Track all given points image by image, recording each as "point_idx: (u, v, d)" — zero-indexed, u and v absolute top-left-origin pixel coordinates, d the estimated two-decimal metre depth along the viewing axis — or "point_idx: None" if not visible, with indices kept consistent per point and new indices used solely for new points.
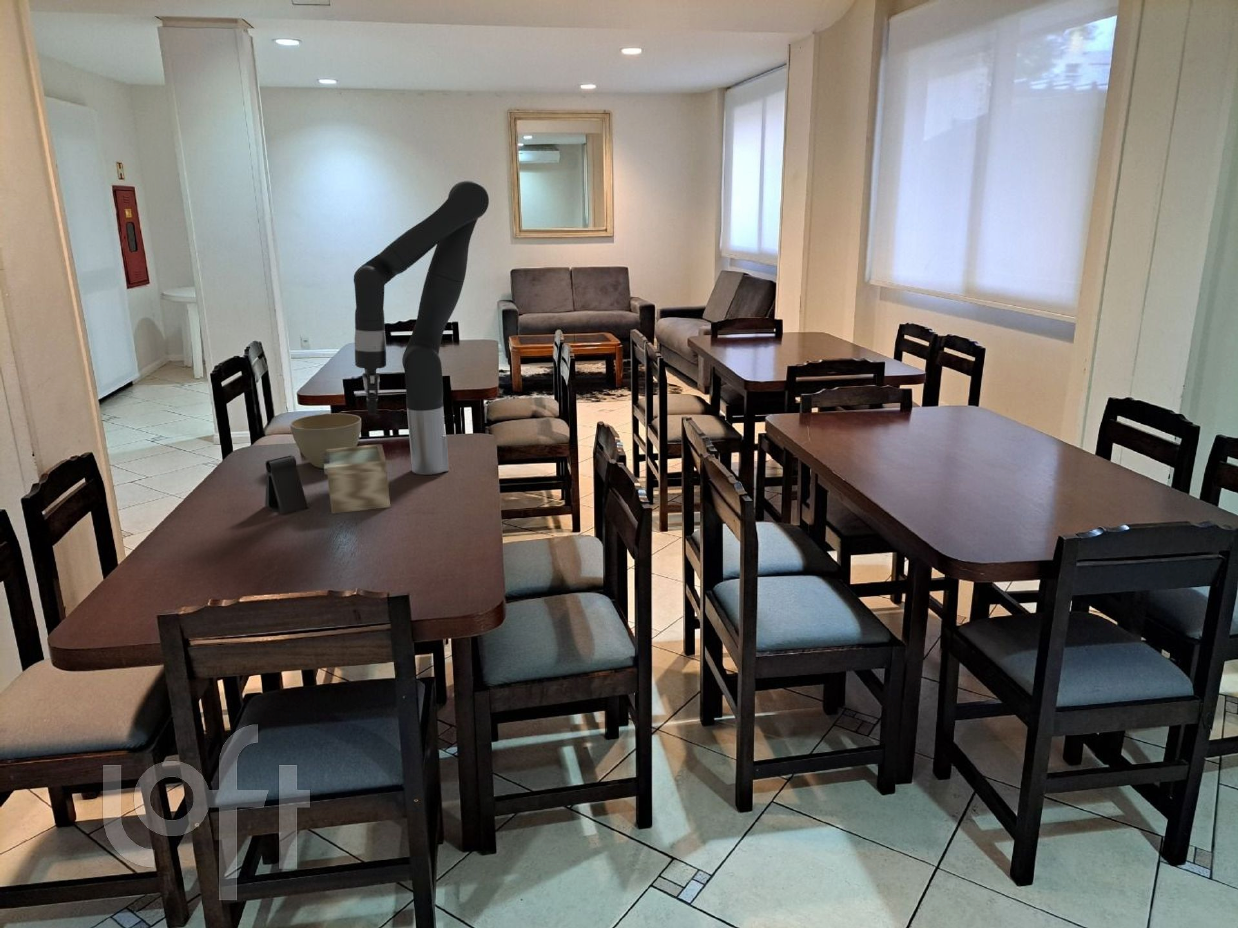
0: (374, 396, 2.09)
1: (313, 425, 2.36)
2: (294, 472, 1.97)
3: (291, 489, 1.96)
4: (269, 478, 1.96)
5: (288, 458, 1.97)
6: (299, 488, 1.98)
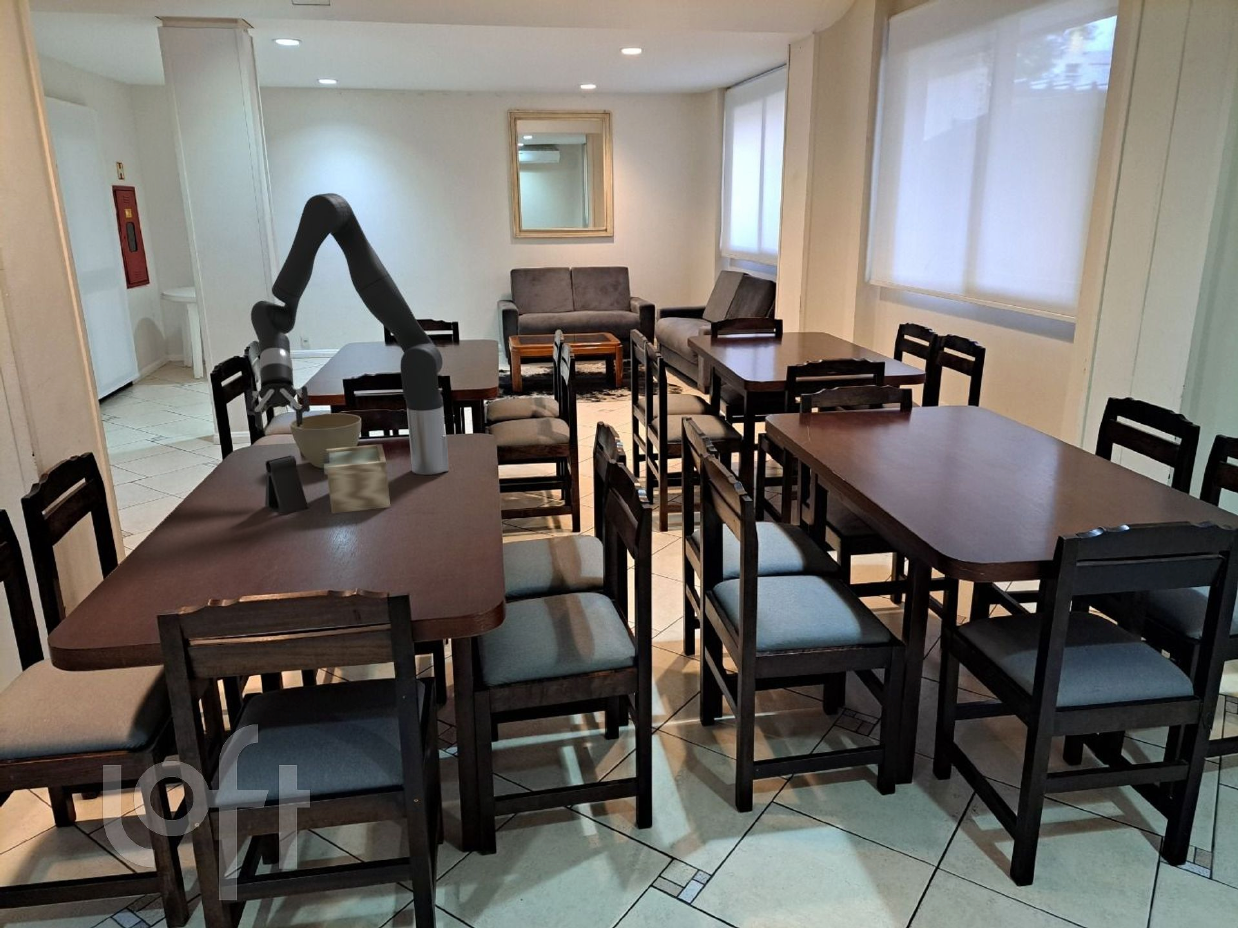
0: None
1: (313, 425, 2.36)
2: (294, 472, 1.97)
3: (291, 489, 1.96)
4: (269, 478, 1.96)
5: (288, 458, 1.97)
6: (299, 488, 1.98)
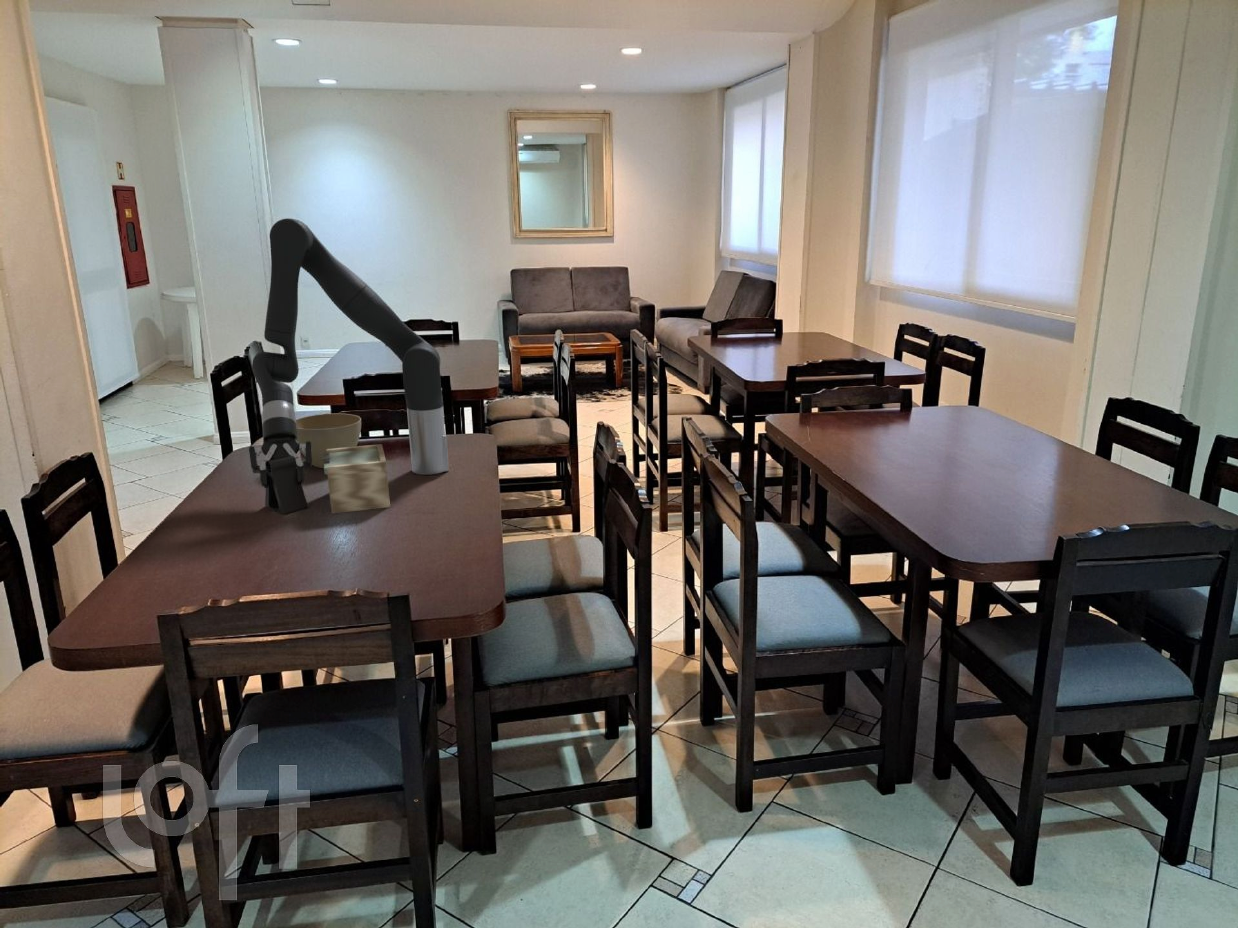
0: None
1: (313, 425, 2.36)
2: (294, 472, 1.97)
3: (291, 489, 1.96)
4: (269, 478, 1.96)
5: (288, 458, 1.96)
6: (299, 488, 1.98)
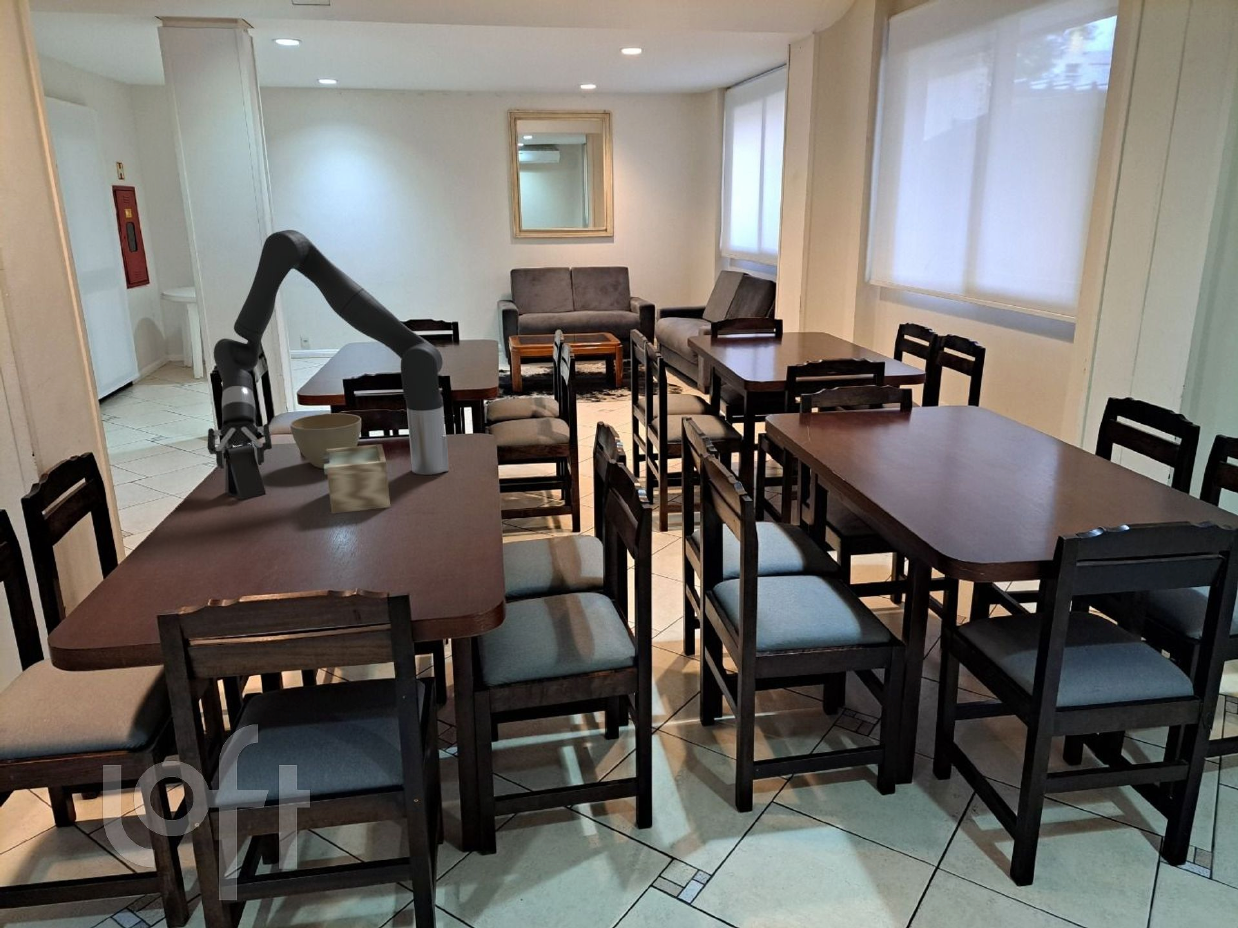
0: None
1: (313, 425, 2.36)
2: (252, 460, 2.07)
3: (249, 476, 2.06)
4: (228, 465, 2.06)
5: (246, 446, 2.06)
6: (257, 475, 2.08)
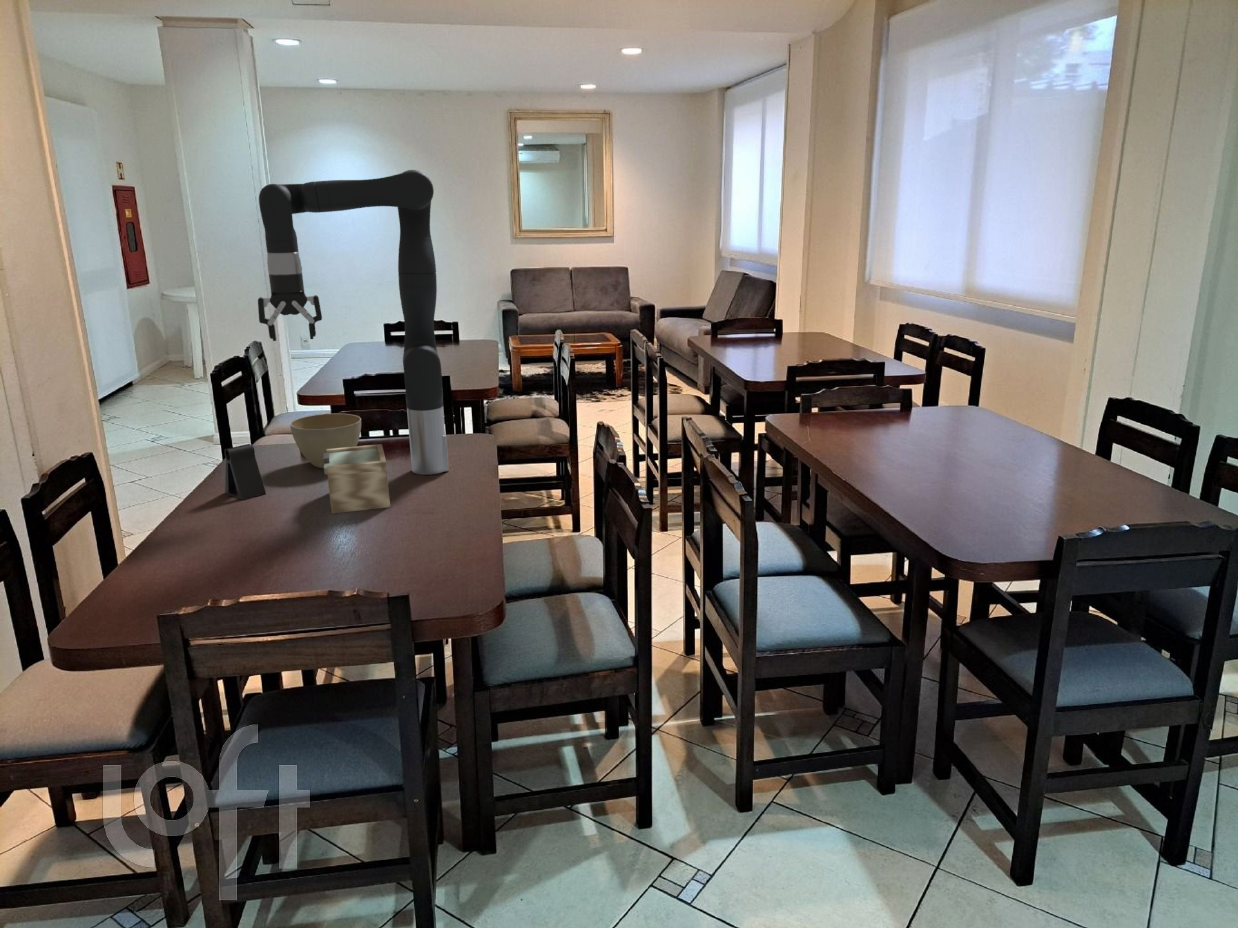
0: None
1: (313, 425, 2.36)
2: (252, 460, 2.07)
3: (249, 476, 2.06)
4: (228, 465, 2.06)
5: (246, 446, 2.06)
6: (257, 475, 2.08)
